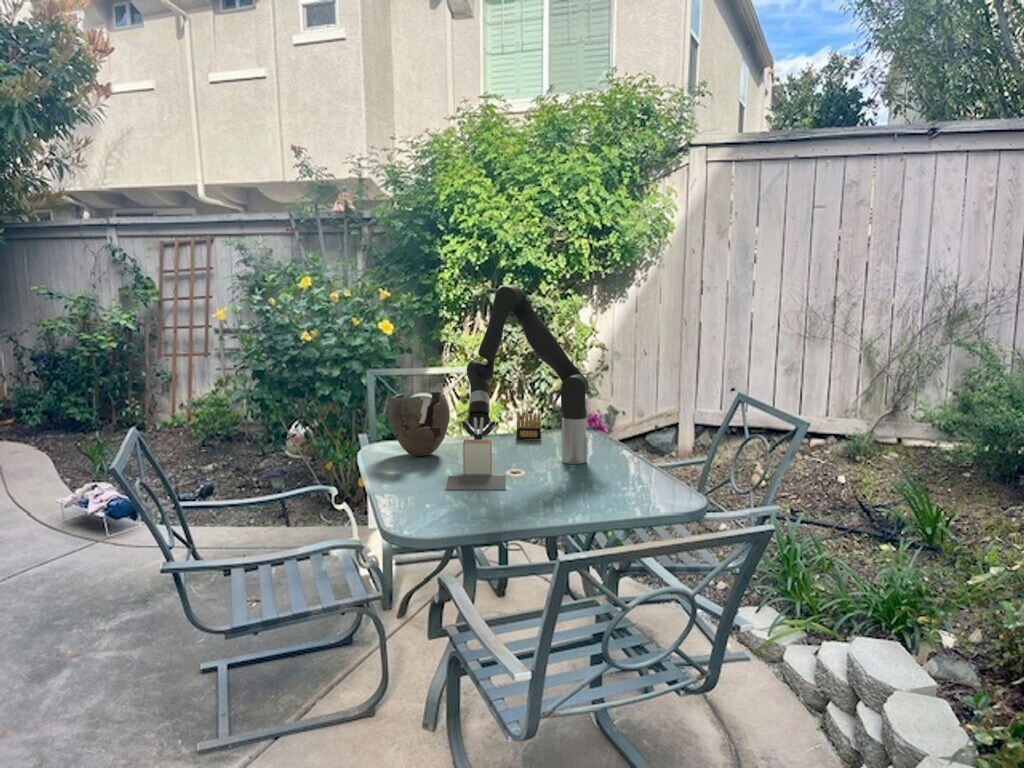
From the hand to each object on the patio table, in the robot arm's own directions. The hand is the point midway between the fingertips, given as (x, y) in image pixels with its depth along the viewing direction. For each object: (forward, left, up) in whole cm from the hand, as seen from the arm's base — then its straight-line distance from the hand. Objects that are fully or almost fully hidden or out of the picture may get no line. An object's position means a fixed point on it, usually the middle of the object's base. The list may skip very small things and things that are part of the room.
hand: (478, 444), depth 258 cm
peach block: (0, +6, -9) cm, 11 cm away
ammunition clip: (-20, -46, -9) cm, 51 cm away
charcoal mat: (0, +18, -9) cm, 20 cm away
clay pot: (+24, -20, -9) cm, 33 cm away
